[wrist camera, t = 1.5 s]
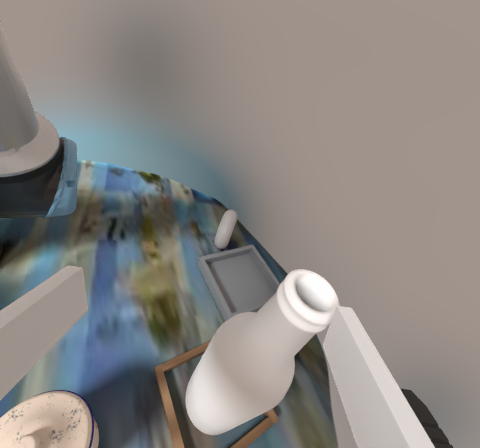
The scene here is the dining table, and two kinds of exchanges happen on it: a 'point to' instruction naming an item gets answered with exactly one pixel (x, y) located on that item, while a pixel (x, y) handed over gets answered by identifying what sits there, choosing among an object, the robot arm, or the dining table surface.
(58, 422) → the teacup with lid
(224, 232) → the donut
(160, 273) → the dining table surface
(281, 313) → the alcohol
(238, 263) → the tray
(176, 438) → the square wooden frame
